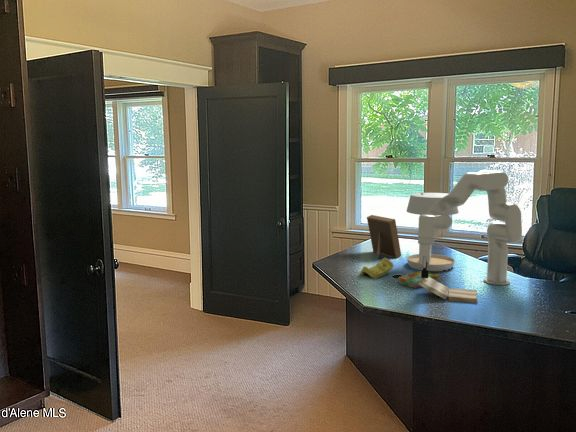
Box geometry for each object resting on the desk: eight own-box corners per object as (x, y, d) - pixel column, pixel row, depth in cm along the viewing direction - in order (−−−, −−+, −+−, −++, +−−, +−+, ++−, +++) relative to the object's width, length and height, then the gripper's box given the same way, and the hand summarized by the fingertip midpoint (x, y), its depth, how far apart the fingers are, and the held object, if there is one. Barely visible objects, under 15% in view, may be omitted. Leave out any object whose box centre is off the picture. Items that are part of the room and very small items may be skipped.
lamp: (449, 274, 288) (452, 197, 281) (398, 268, 302) (400, 194, 296) (461, 263, 313) (464, 192, 306) (413, 258, 327) (415, 189, 320)
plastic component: (376, 275, 280) (362, 264, 285) (372, 285, 284) (358, 275, 289) (396, 265, 294) (383, 255, 299) (392, 276, 298) (378, 266, 303)
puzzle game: (398, 275, 271) (421, 269, 283) (397, 284, 271) (421, 277, 284) (416, 280, 262) (440, 273, 274) (416, 289, 262) (439, 282, 275)
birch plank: (446, 291, 257) (448, 287, 256) (445, 299, 244) (447, 296, 243) (420, 276, 260) (422, 273, 259) (418, 284, 247) (420, 280, 246)
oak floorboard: (449, 291, 257) (449, 288, 256) (476, 294, 253) (476, 290, 252) (448, 300, 244) (448, 296, 243) (477, 303, 239) (477, 298, 239)
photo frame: (378, 251, 347) (378, 214, 343) (401, 257, 329) (401, 218, 325) (360, 254, 340) (360, 216, 336) (383, 260, 322) (383, 220, 317)
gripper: (419, 237, 258) (418, 273, 261) (416, 242, 244) (415, 281, 247) (435, 238, 255) (433, 274, 258) (433, 243, 241) (431, 282, 244)
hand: (424, 277), depth 252 cm, fingers closed
